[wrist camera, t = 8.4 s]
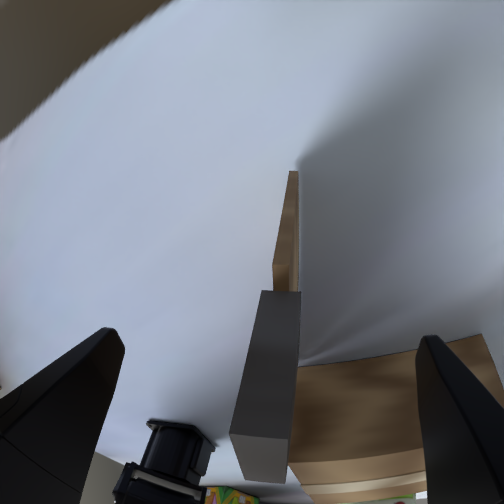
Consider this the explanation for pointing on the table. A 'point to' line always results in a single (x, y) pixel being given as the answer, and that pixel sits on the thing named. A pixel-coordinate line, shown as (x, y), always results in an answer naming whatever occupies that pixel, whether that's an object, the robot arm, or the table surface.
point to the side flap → (272, 361)
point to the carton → (368, 424)
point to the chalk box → (228, 496)
